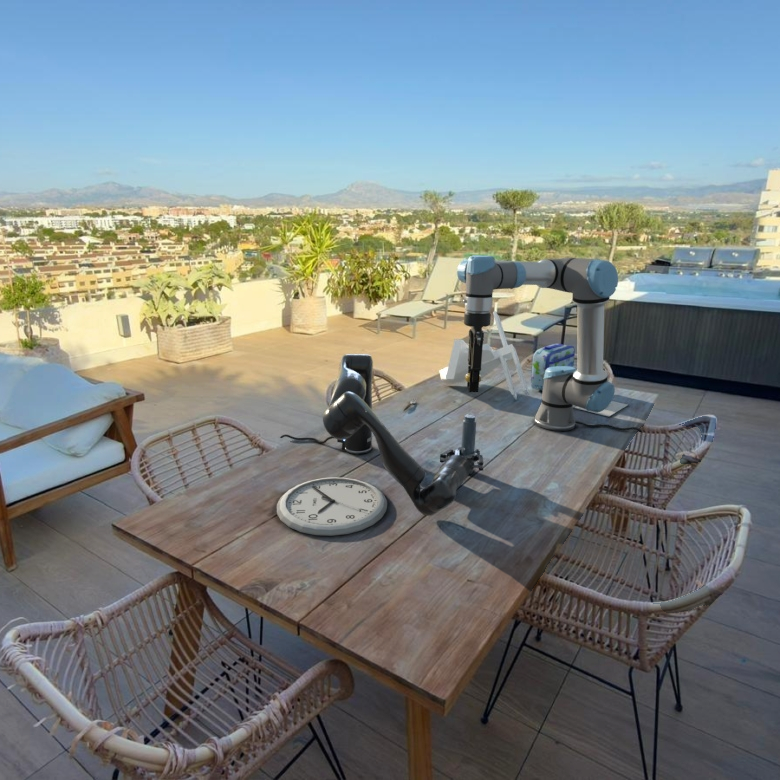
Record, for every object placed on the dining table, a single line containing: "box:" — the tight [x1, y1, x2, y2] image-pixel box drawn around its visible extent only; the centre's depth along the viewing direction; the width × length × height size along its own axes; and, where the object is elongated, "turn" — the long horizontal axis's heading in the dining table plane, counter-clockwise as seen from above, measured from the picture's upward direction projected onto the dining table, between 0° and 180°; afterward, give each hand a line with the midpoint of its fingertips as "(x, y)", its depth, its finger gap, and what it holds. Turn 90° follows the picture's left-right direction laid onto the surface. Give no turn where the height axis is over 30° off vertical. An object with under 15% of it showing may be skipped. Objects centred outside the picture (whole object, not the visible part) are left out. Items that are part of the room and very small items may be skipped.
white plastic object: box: [438, 310, 531, 400], centre depth 245 cm, size 37×45×31 cm
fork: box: [403, 395, 419, 411], centre depth 222 cm, size 3×16×2 cm, turn 160°
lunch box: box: [530, 343, 576, 391], centre depth 249 cm, size 26×11×21 cm, turn 134°
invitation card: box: [573, 400, 629, 418], centre depth 226 cm, size 21×1×15 cm
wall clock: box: [276, 476, 388, 537], centre depth 142 cm, size 30×2×30 cm
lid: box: [465, 373, 482, 383], centre depth 155 cm, size 5×5×2 cm
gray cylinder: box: [460, 414, 477, 475], centre depth 161 cm, size 4×4×18 cm
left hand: (469, 450), depth 165 cm, fingers closed on gray cylinder, 4 cm apart
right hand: (472, 389), depth 156 cm, fingers closed on lid, 4 cm apart
